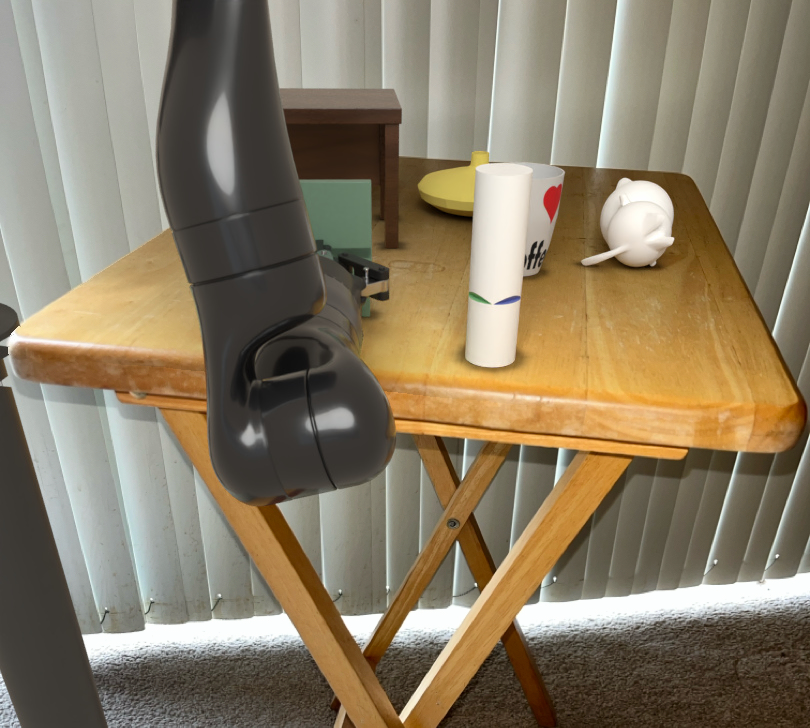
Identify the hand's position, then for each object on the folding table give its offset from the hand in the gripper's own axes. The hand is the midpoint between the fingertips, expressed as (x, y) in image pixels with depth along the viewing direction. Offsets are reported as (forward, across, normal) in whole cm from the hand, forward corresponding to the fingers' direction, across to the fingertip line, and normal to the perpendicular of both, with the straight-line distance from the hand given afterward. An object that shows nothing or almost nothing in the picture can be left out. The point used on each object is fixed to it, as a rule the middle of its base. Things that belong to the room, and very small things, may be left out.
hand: (315, 250), depth 75 cm
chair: (+5, 0, +6) cm, 8 cm away
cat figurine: (+17, -34, +6) cm, 38 cm away
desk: (+28, 0, +6) cm, 29 cm away
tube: (-10, -15, +6) cm, 19 cm away
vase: (+38, -20, +7) cm, 43 cm away
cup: (+14, -21, +6) cm, 26 cm away
